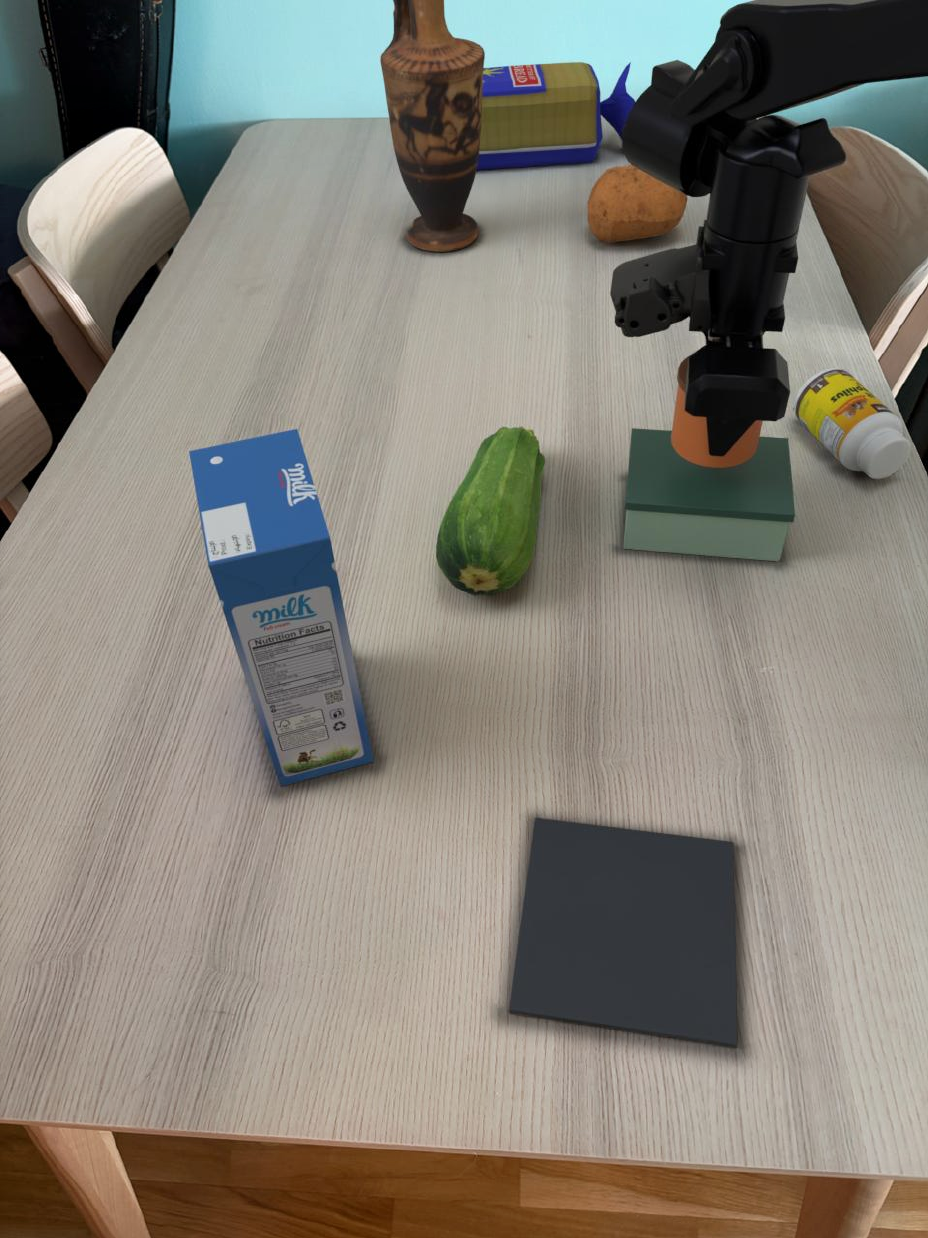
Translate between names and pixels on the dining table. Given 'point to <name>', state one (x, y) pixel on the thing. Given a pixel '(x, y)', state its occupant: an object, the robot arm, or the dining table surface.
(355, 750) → the milk carton
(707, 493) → the storage box
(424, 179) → the vase
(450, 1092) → the dining table surface
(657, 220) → the potato
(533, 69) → the bread
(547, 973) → the mat
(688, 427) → the round tub
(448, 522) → the vegetable
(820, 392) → the supplement bottle
